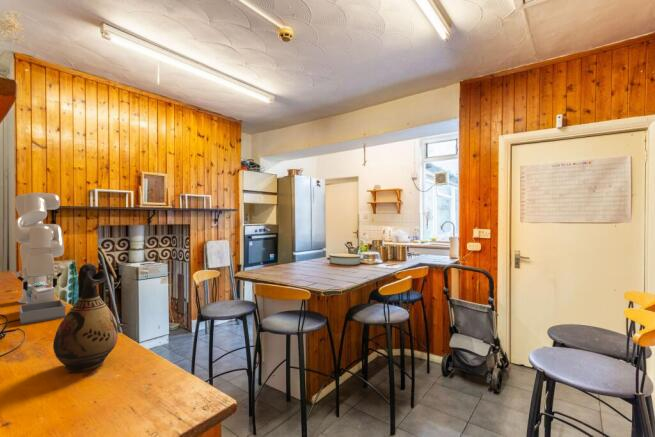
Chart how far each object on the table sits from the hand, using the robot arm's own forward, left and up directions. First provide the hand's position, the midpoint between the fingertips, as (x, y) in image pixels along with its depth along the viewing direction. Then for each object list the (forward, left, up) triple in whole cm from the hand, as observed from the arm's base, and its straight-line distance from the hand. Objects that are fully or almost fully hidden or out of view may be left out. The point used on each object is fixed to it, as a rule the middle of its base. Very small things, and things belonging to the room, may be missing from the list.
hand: (40, 288), depth 149 cm
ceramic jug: (+81, +5, -11) cm, 82 cm away
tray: (+12, 0, -10) cm, 16 cm away
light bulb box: (-3, 0, -10) cm, 10 cm away
